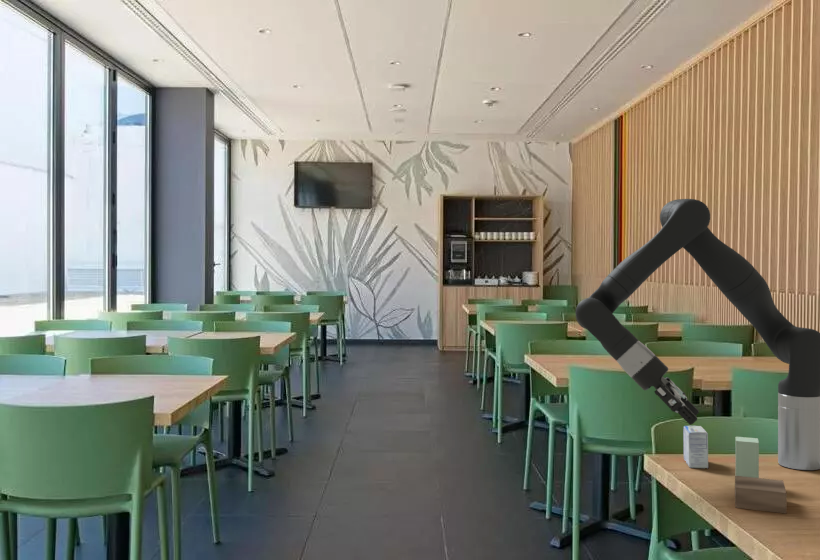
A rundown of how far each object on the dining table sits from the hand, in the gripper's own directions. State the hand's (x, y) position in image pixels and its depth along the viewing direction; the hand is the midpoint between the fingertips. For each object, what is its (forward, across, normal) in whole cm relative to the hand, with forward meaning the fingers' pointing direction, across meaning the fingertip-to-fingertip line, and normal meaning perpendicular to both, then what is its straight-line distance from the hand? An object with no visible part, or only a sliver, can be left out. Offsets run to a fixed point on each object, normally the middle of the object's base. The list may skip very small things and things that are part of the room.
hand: (695, 418), depth 163 cm
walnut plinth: (+19, -13, +1) cm, 23 cm away
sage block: (+17, 0, +2) cm, 17 cm away
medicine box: (+10, +14, +10) cm, 20 cm away
